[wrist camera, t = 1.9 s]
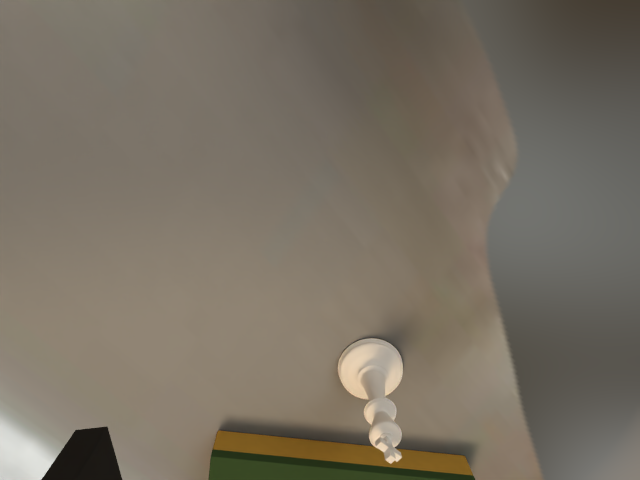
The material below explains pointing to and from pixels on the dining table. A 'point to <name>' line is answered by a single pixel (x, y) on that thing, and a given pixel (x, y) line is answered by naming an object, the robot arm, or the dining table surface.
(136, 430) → the dining table surface
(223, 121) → the dining table surface
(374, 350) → the chess piece
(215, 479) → the sponge pad
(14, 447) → the dining table surface
